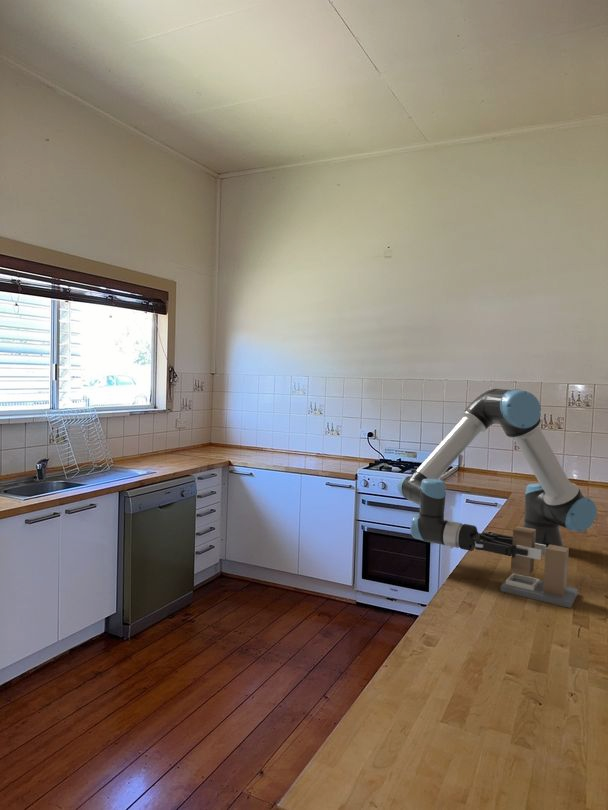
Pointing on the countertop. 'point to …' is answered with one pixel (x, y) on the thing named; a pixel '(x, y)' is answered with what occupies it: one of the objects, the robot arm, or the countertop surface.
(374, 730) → the countertop surface
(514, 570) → the pillar
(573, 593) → the baseplate
